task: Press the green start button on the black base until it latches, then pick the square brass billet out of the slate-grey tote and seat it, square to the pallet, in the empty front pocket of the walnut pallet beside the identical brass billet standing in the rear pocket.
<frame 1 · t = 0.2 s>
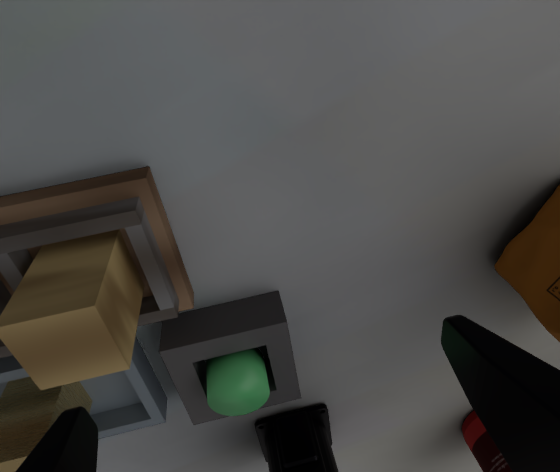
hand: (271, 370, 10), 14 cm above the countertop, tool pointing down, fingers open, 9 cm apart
start button: (237, 379, 26), point 3 cm above the countertop, slide at 0.0 cm
tote: (54, 386, 28), on the countertop
canned food: (493, 415, 42), on the countertop
button base: (233, 343, 29), on the countertop
billet: (52, 391, 28), resting on tote
pallet: (27, 267, 23), on the countertop
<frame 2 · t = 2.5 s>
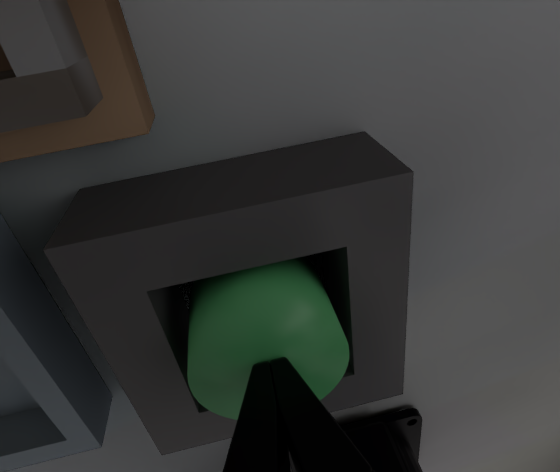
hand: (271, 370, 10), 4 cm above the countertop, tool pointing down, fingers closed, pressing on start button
start button: (263, 330, 11), point 3 cm above the countertop, slide at 0.5 cm, touching gripper
button base: (252, 272, 13), on the countertop
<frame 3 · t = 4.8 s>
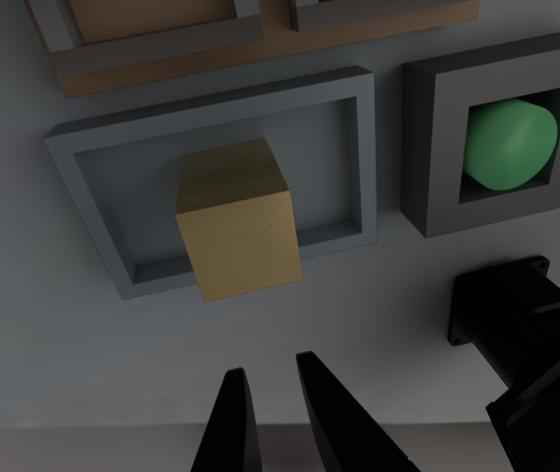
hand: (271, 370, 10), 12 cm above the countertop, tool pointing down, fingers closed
start button: (496, 141, 19), point 2 cm above the countertop, slide at 1.3 cm
tote: (232, 181, 20), on the countertop
button base: (474, 129, 21), on the countertop
billet: (232, 184, 20), resting on tote
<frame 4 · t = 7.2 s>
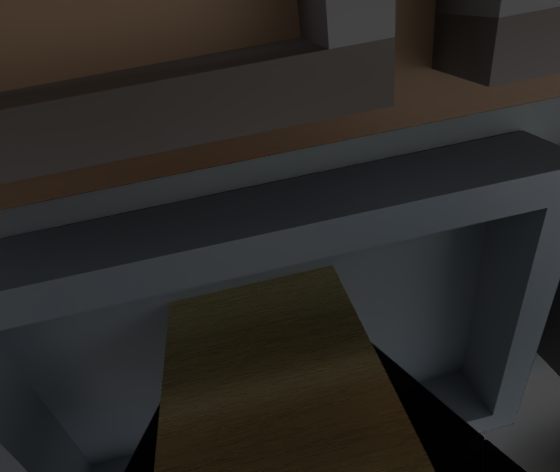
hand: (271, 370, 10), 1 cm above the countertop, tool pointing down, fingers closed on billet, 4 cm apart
tote: (263, 329, 11), on the countertop
billet: (265, 340, 10), resting on tote, touching gripper
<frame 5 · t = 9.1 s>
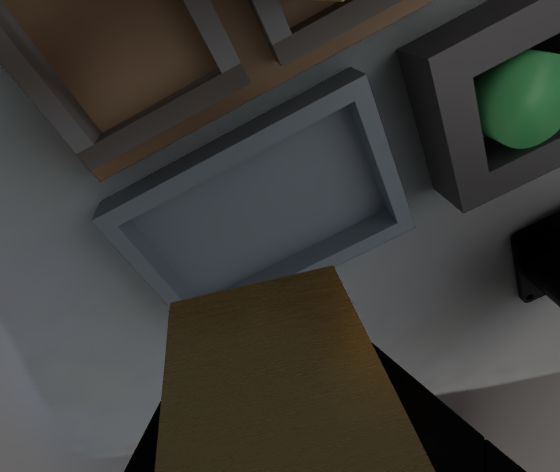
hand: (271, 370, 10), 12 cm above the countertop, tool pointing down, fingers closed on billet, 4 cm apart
start button: (515, 97, 18), point 2 cm above the countertop, slide at 1.3 cm
tote: (261, 206, 21), on the countertop
button base: (490, 89, 20), on the countertop
billet: (266, 340, 11), point 11 cm above the countertop, touching gripper
when the fingers open (4 cm above the countertop, at t = 11.2 s): billet drops 1 cm, resting on pallet.
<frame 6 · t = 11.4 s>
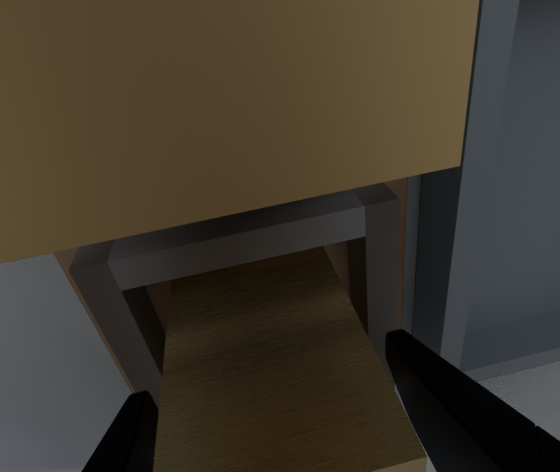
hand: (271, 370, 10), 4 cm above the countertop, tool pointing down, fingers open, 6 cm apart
tote: (543, 181, 13), on the countertop
billet: (259, 308, 12), point 2 cm above the countertop, touching pallet
pallet: (224, 156, 11), on the countertop
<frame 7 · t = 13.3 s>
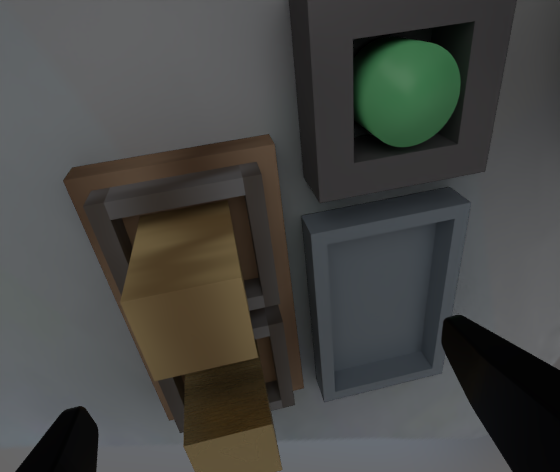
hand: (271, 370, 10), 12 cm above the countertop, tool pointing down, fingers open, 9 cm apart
start button: (398, 91, 17), point 2 cm above the countertop, slide at 1.3 cm
tote: (374, 294, 25), on the countertop
button base: (380, 83, 18), on the countertop
billet: (226, 360, 24), point 1 cm above the countertop, touching pallet
pallet: (210, 291, 23), on the countertop
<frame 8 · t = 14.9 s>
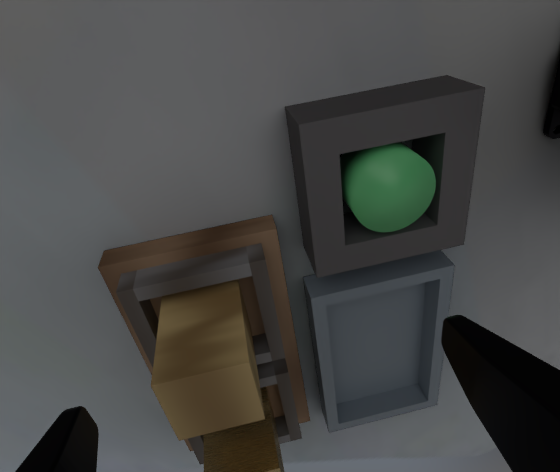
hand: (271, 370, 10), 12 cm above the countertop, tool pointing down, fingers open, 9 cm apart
start button: (383, 183, 19), point 2 cm above the countertop, slide at 1.3 cm
tote: (372, 337, 28), on the countertop
button base: (368, 168, 21), on the countertop
billet: (239, 400, 26), point 1 cm above the countertop, touching pallet
pallet: (224, 341, 25), on the countertop
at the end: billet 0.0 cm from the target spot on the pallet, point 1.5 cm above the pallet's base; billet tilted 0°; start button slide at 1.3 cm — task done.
